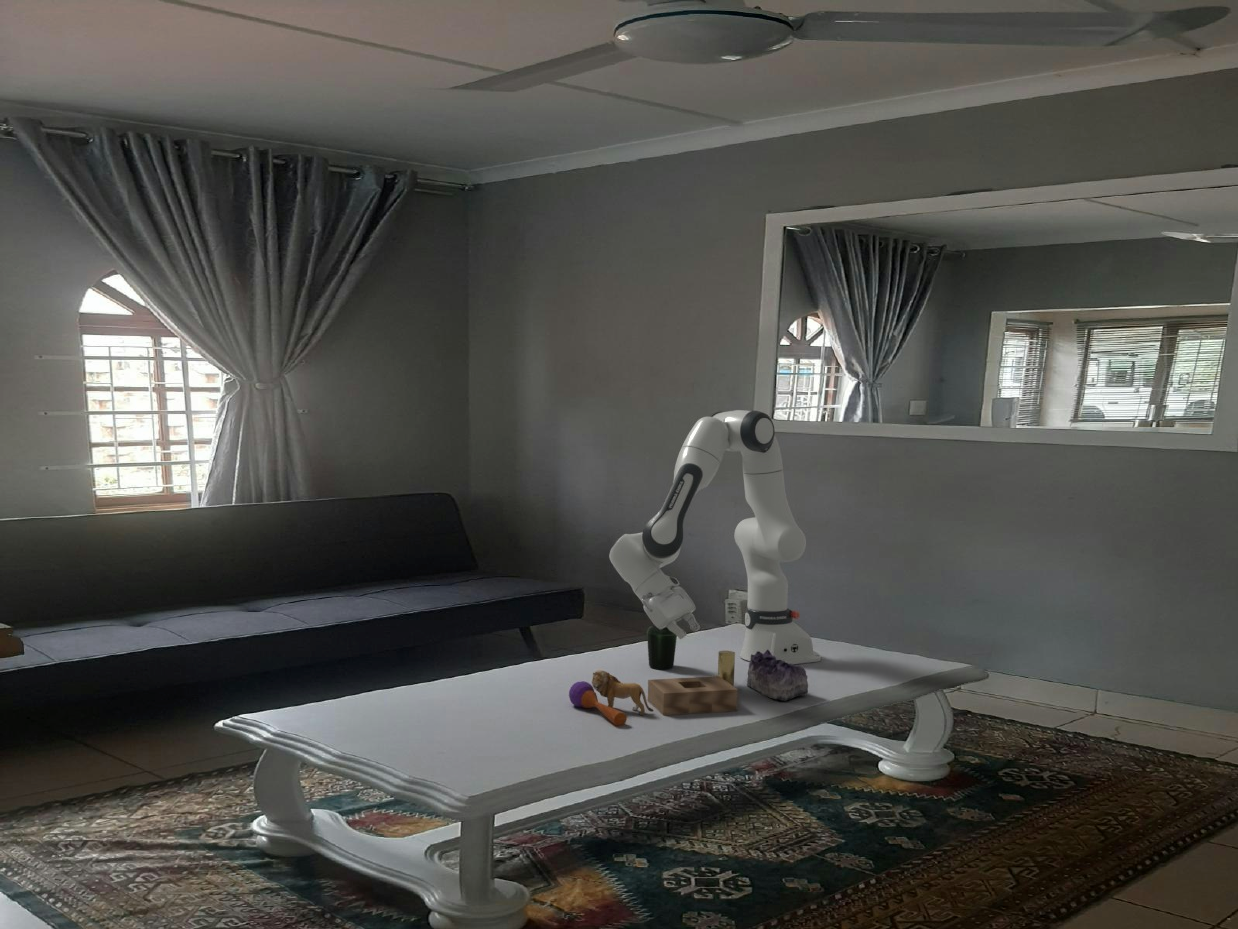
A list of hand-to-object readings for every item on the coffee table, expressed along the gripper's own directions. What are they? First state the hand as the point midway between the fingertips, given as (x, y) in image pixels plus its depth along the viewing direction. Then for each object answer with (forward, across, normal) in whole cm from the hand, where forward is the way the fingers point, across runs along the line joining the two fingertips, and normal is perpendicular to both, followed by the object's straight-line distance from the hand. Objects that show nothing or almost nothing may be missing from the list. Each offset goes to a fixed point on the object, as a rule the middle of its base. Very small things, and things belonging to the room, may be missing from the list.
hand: (690, 633), depth 267 cm
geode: (+24, +7, -4) cm, 25 cm away
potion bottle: (0, +16, +20) cm, 25 cm away
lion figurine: (+5, -27, +15) cm, 31 cm away
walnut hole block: (+14, -15, +5) cm, 21 cm away
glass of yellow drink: (+16, 0, +3) cm, 17 cm away
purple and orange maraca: (+3, -31, +17) cm, 36 cm away
